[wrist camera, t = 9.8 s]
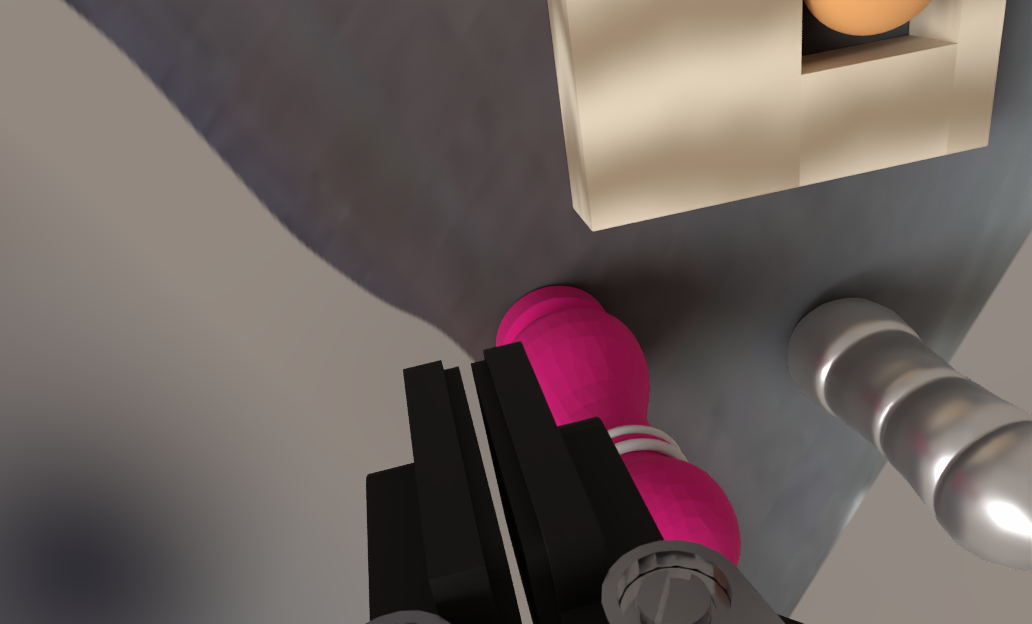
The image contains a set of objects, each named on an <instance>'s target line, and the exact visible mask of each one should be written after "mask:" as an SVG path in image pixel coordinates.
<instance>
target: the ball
mask: <svg viewBox="0 0 1032 624" xmlns="http://www.w3.org/2000/svg"><path fill="white" fill-rule="evenodd" d="M930 1H931V0H804V2H805V4H806V5H807V7H808V9H809V10H810V11H811V13H812V14H813V15H814V16H815V17H816V18H817V19H818V20H819V21H820V22H821V23H823V24H824V25H826V26H827V27H829V28H831V29H833V30H835V31H838V32H841V33H844V34H850V35H859V36H866V35H875V34H879V33H884V32H886V31H889V30H892V29H894V28H896V27H899V26H901V25H903V24H904V23H906V22H908V21H909V20H911V19H912V18H914V17H915V16H916V15H917V14H919V13H920V12H921V11H922V10H923V9H924V8H925V7H926V6H927V5H928V4H929V3H930Z"/></svg>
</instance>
